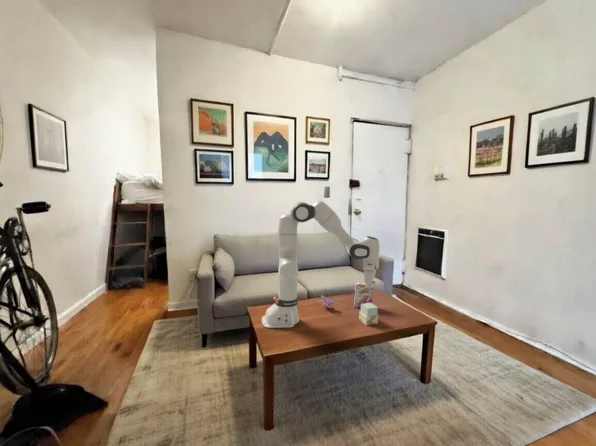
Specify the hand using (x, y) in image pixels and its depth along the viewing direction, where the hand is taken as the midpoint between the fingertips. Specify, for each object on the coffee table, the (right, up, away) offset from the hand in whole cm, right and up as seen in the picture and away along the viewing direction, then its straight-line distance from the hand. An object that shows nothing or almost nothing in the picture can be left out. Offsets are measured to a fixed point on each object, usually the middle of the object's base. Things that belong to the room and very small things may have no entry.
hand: (370, 286), depth 160 cm
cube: (0, -2, 0) cm, 2 cm away
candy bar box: (+1, -19, +22) cm, 30 cm away
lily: (-24, -19, +18) cm, 36 cm away
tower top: (0, -17, +2) cm, 17 cm away
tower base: (-1, -22, +2) cm, 22 cm away
